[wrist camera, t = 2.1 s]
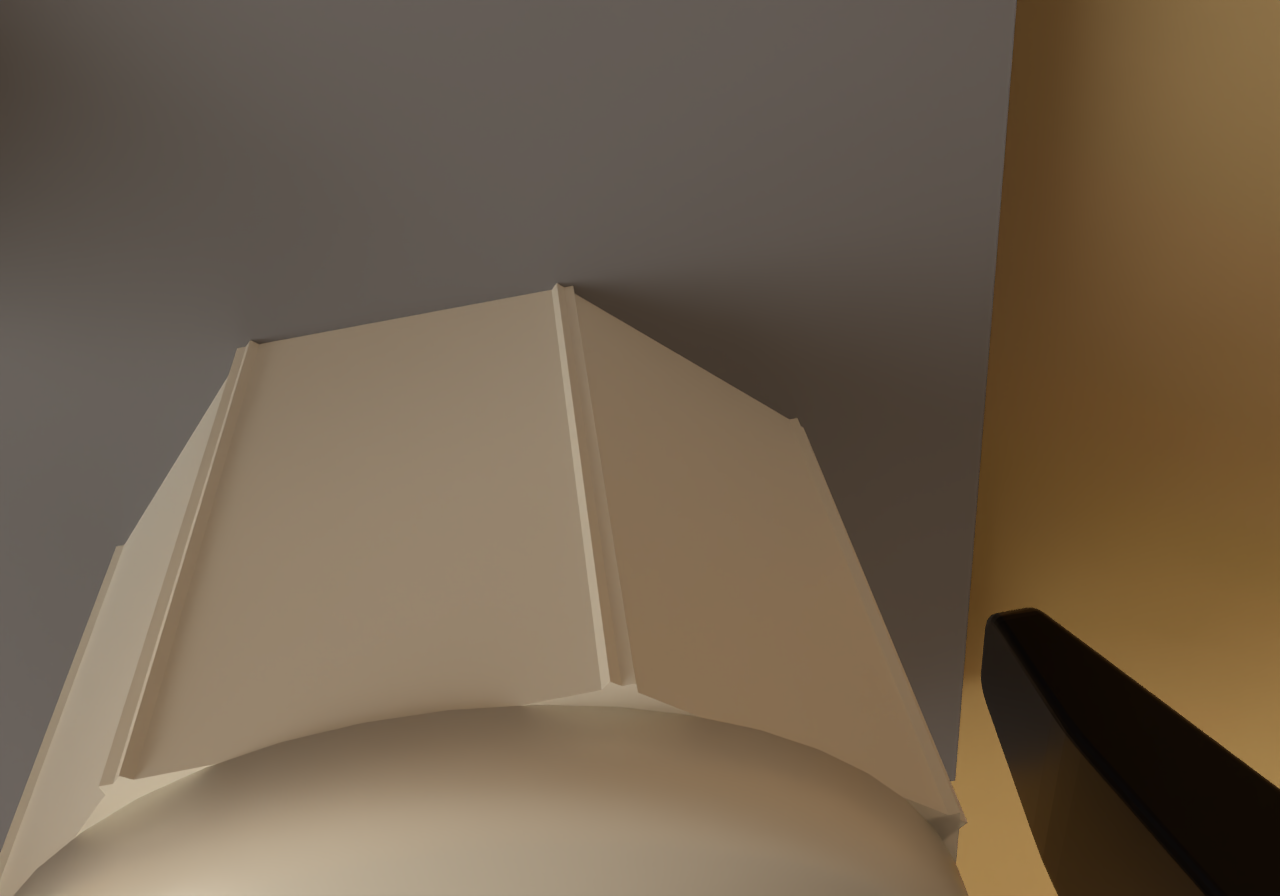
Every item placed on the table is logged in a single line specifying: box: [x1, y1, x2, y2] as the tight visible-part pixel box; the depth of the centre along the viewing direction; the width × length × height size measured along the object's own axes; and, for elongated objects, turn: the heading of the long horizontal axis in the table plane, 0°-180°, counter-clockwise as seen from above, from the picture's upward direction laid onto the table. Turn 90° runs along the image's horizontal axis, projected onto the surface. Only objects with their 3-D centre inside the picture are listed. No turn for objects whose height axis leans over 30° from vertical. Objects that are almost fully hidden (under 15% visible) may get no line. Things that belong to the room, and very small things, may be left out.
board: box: [0, 0, 1017, 852], centre depth 8 cm, size 16×14×5 cm
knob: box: [0, 283, 968, 896], centre depth 9 cm, size 7×7×5 cm
